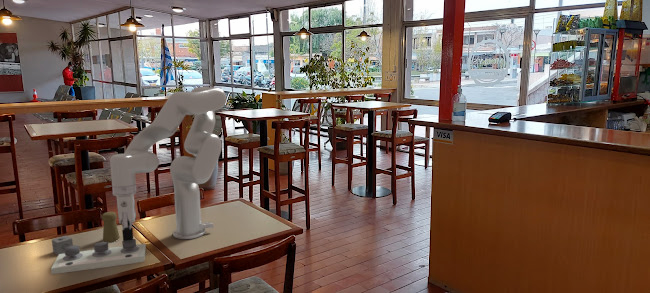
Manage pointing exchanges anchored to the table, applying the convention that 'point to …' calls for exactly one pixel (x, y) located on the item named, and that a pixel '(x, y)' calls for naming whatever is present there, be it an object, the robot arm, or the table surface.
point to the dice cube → (61, 244)
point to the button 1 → (72, 250)
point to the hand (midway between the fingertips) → (128, 239)
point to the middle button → (101, 247)
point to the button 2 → (129, 244)
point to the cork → (110, 227)
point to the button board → (99, 259)
